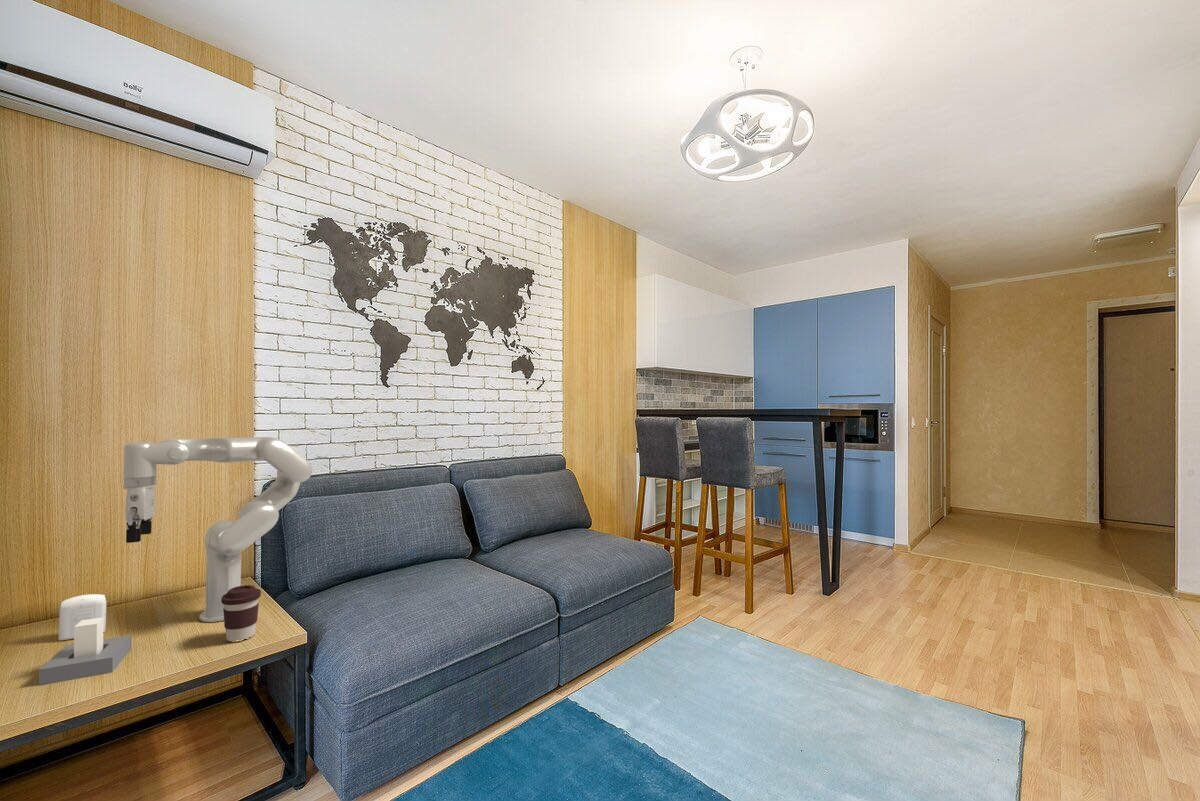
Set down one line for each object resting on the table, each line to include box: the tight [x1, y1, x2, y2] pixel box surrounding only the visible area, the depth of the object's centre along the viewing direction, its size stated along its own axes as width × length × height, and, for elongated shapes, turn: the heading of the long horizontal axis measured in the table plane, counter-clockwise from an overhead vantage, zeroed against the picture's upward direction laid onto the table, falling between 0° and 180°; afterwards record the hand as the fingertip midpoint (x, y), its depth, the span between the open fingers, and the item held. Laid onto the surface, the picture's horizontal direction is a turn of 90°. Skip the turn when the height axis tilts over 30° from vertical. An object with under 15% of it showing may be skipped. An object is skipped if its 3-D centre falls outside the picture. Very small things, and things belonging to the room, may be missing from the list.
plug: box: [73, 617, 104, 658], centre depth 138 cm, size 4×4×12 cm
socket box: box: [38, 635, 133, 686], centre depth 138 cm, size 14×14×4 cm
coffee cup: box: [221, 584, 262, 642], centre depth 155 cm, size 10×10×15 cm
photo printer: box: [58, 593, 107, 641], centre depth 155 cm, size 10×4×12 cm, turn 123°
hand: (139, 538), depth 155 cm, fingers open, 9 cm apart
